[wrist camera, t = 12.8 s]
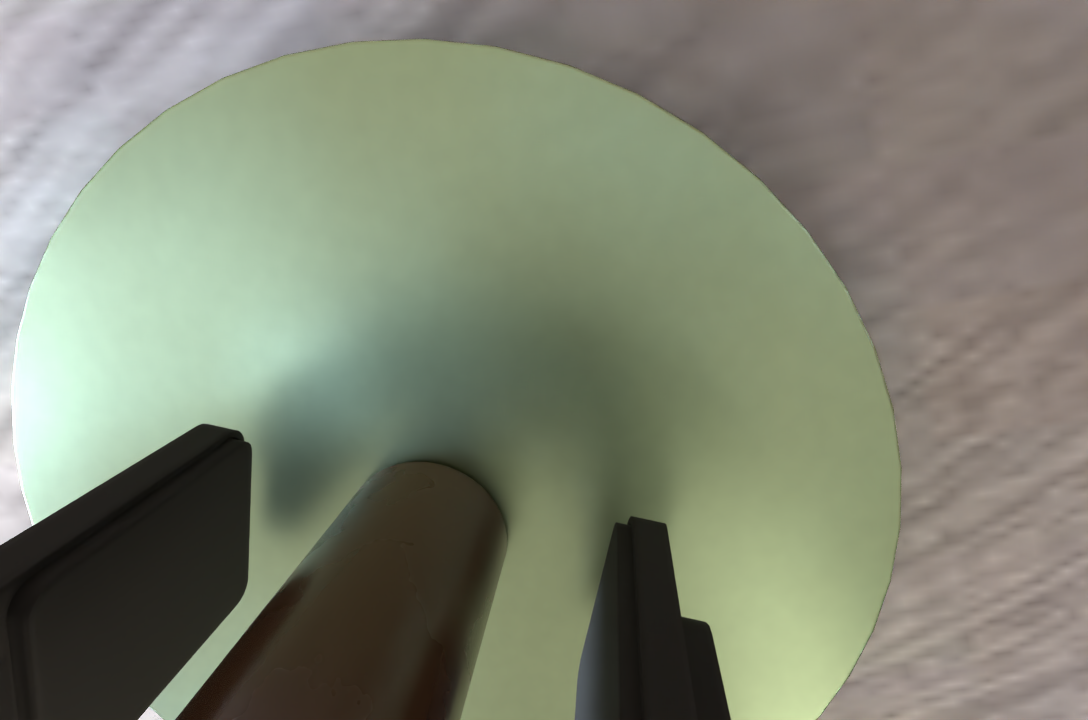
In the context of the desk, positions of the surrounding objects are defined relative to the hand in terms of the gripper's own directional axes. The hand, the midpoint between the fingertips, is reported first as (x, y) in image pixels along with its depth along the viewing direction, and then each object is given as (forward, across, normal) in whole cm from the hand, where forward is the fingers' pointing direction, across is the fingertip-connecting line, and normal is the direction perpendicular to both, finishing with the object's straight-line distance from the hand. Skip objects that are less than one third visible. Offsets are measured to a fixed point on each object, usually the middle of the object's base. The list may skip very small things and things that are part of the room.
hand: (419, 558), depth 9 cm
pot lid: (+2, 0, 0) cm, 2 cm away
